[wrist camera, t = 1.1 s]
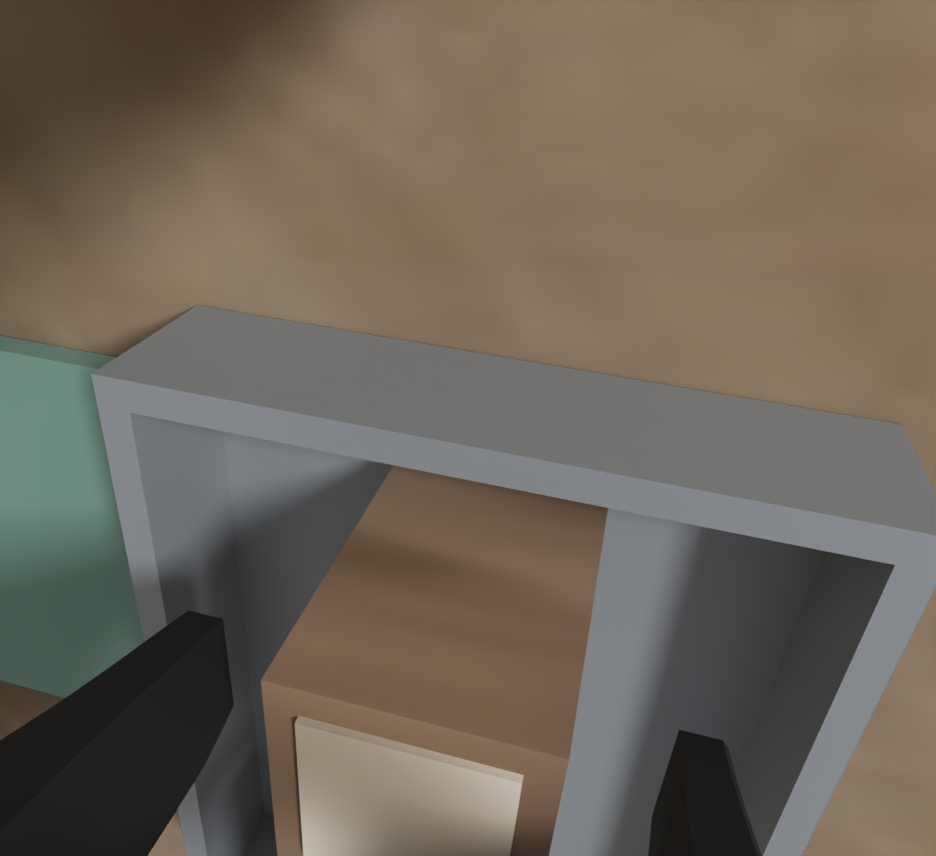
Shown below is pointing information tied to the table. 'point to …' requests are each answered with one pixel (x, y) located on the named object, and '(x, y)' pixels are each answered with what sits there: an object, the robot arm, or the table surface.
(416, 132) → the table surface
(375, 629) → the walnut block
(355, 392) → the tray
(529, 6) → the table surface
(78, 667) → the mat
